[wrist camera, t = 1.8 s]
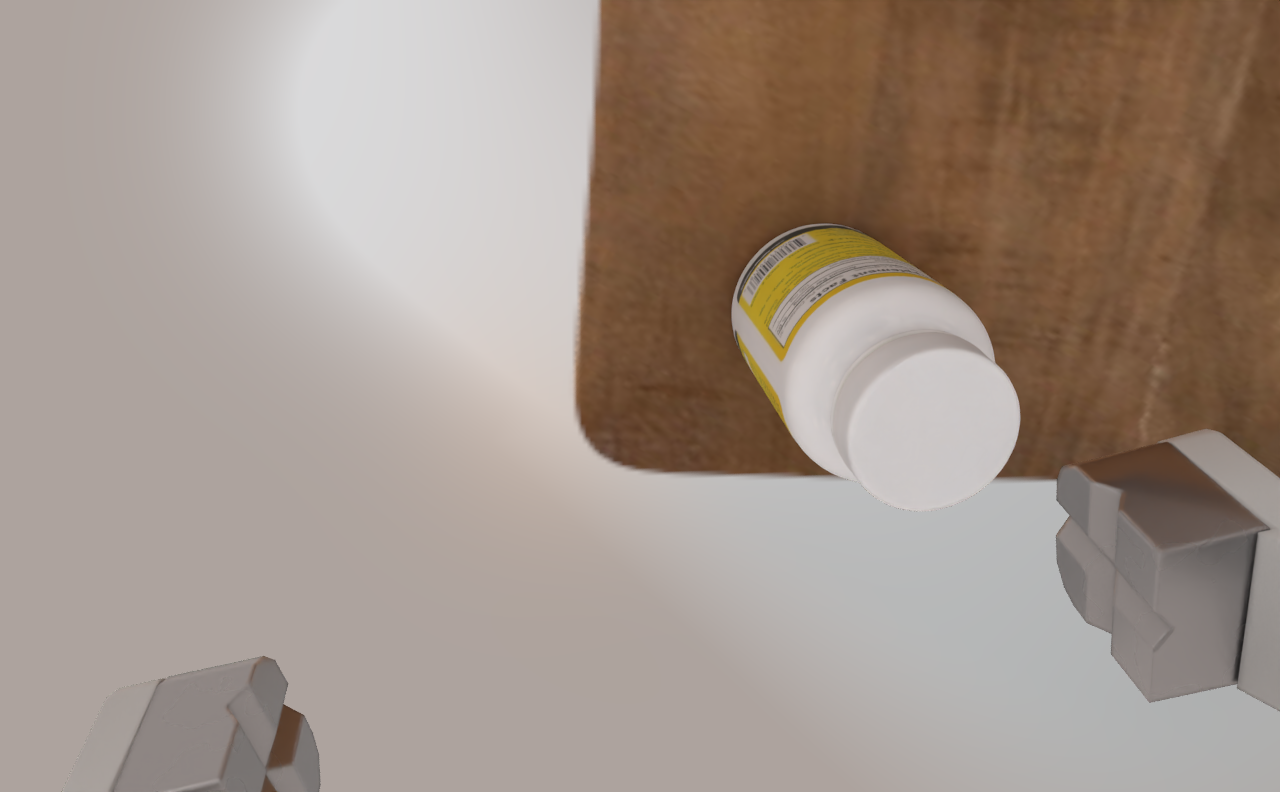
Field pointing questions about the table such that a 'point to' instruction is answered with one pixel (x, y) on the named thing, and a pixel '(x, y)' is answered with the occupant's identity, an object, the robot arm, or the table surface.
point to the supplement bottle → (875, 367)
